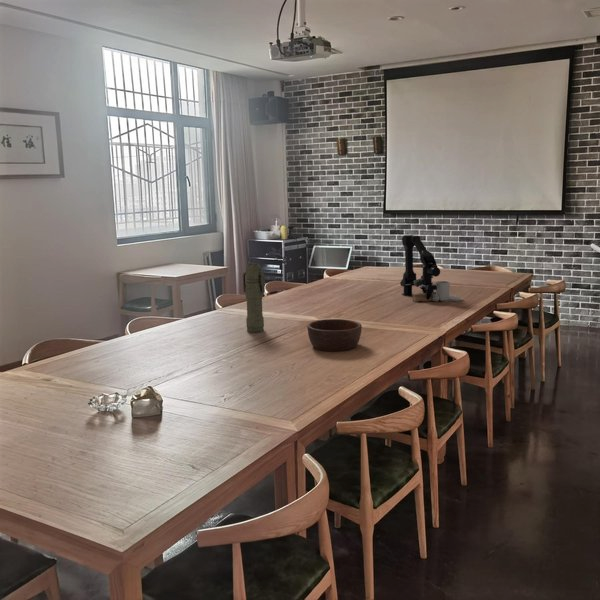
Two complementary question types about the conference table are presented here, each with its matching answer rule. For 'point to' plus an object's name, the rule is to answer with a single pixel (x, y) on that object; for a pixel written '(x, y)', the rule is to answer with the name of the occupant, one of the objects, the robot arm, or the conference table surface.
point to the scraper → (424, 297)
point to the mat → (452, 299)
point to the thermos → (254, 297)
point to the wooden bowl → (334, 334)
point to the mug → (442, 290)
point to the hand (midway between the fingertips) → (426, 298)
